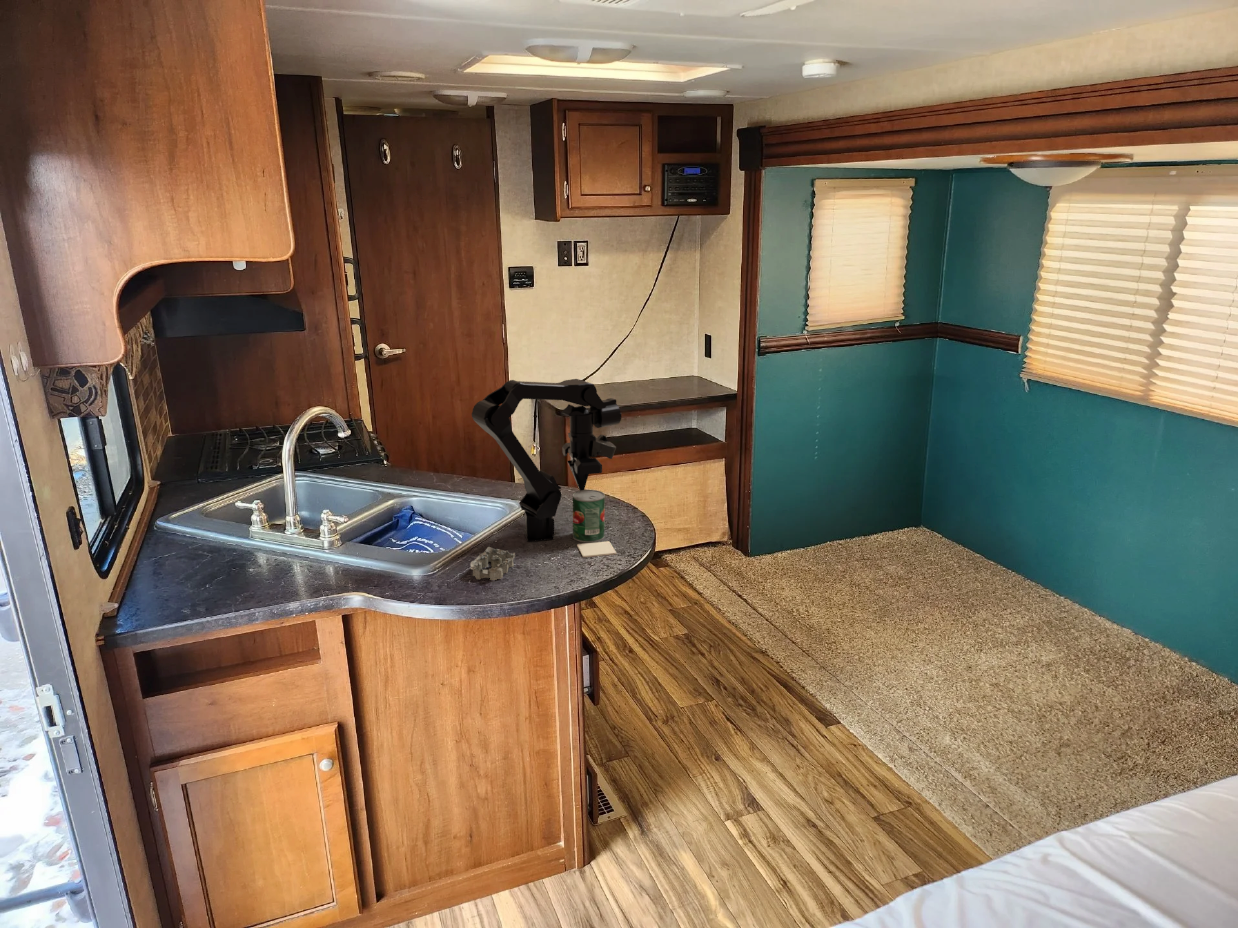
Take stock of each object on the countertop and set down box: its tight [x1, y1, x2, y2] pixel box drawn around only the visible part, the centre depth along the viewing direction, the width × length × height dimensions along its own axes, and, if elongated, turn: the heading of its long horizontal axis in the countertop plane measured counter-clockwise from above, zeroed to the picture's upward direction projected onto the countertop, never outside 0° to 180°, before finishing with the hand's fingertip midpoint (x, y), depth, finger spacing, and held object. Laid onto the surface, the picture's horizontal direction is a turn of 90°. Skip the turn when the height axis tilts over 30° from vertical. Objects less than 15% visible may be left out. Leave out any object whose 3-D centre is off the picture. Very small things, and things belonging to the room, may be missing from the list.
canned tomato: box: [572, 489, 606, 544], centre depth 204 cm, size 8×8×11 cm
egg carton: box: [470, 546, 516, 581], centre depth 186 cm, size 11×8×4 cm
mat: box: [576, 540, 617, 558], centre depth 198 cm, size 8×7×1 cm
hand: (581, 490), depth 210 cm, fingers closed
